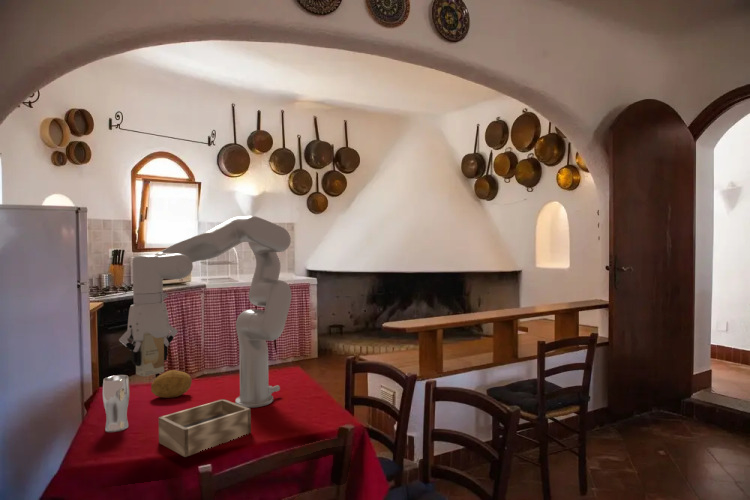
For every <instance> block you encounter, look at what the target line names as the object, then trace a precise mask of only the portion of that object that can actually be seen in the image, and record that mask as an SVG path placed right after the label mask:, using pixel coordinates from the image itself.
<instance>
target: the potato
mask: <svg viewBox="0 0 750 500" xmlns="http://www.w3.org/2000/svg"><path fill="white" fill-rule="evenodd" d="M192 383H193V380H192V377H191V376H190V374H188V373H187V372H185V371H181V370H176V369H171V370H167V371H164V372H162V373H161V374H160V375H157V376H156V377H155V378H154V379H153V381H152V383H151V384H150V386H151V387H150V388H151V393H152V394H153V395H155V396H156V397H158V398H166V399H167V398H170V399H173V398H177V397H179V396H183V395H184V394H186V393H187V392H188V391H189V389H190V388H191V386H192Z"/></svg>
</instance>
